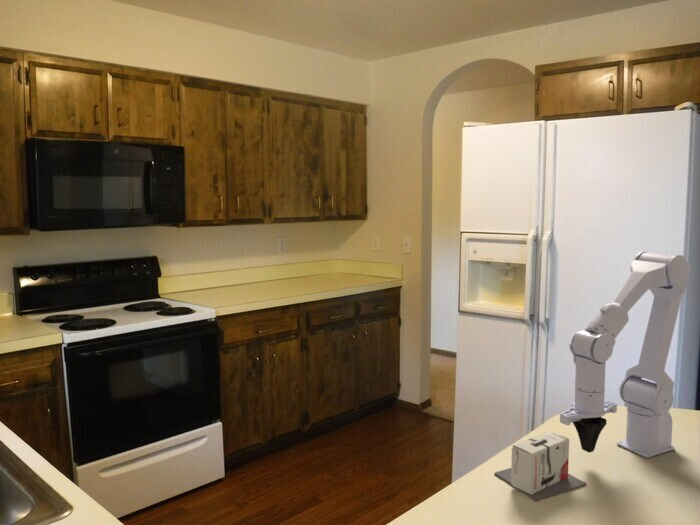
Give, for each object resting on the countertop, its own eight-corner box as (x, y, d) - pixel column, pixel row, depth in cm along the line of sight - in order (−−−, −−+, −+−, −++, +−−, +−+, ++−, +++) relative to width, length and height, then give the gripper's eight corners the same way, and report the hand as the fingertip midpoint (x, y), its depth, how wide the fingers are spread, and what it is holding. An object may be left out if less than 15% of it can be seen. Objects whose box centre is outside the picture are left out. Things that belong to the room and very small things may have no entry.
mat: (541, 460, 127) (541, 459, 127) (586, 485, 117) (586, 483, 117) (494, 474, 122) (494, 472, 122) (536, 501, 111) (536, 499, 111)
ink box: (569, 478, 119) (530, 496, 112) (548, 469, 123) (510, 485, 116) (570, 438, 118) (531, 453, 111) (549, 429, 122) (510, 444, 115)
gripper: (598, 377, 130) (596, 436, 131) (549, 388, 123) (548, 450, 125) (626, 386, 123) (623, 448, 125) (575, 398, 117) (573, 463, 119)
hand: (587, 450), depth 125 cm, fingers closed
